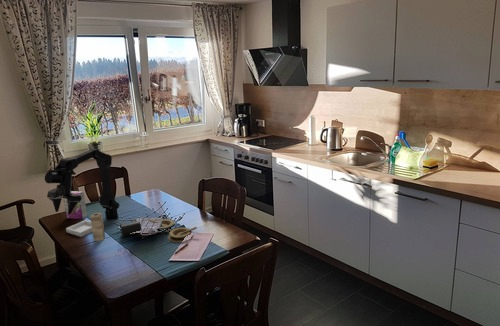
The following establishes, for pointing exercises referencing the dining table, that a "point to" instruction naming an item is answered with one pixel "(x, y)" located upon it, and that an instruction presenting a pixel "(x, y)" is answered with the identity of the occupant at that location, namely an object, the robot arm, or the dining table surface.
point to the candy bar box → (77, 207)
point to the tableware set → (174, 230)
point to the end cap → (130, 228)
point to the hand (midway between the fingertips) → (62, 213)
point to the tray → (80, 228)
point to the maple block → (97, 226)
